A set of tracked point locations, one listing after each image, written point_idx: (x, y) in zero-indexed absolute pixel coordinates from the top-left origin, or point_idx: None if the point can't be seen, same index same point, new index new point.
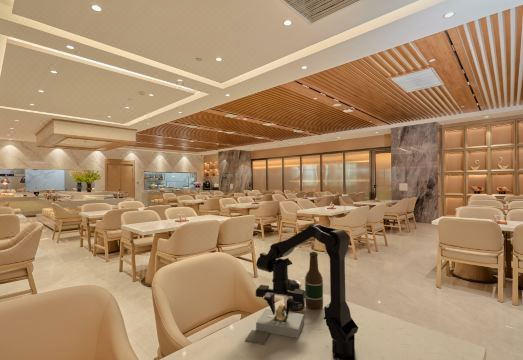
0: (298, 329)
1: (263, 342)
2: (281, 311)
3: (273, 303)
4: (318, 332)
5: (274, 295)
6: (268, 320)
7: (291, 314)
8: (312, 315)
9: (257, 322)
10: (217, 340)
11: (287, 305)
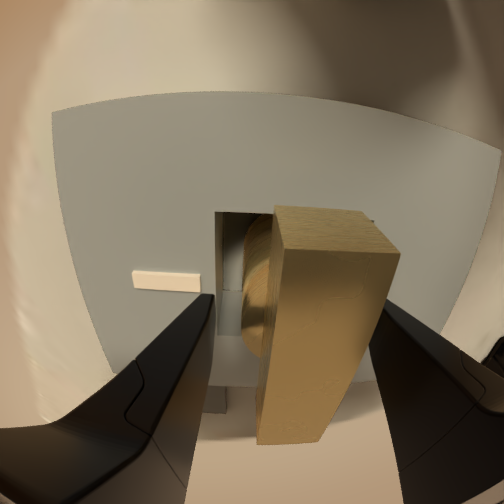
0: None
1: (221, 410)
2: (323, 422)
3: (181, 439)
4: (499, 256)
5: (99, 497)
6: None
7: (406, 170)
8: (492, 41)
9: (119, 370)
10: (55, 391)
11: (409, 476)
